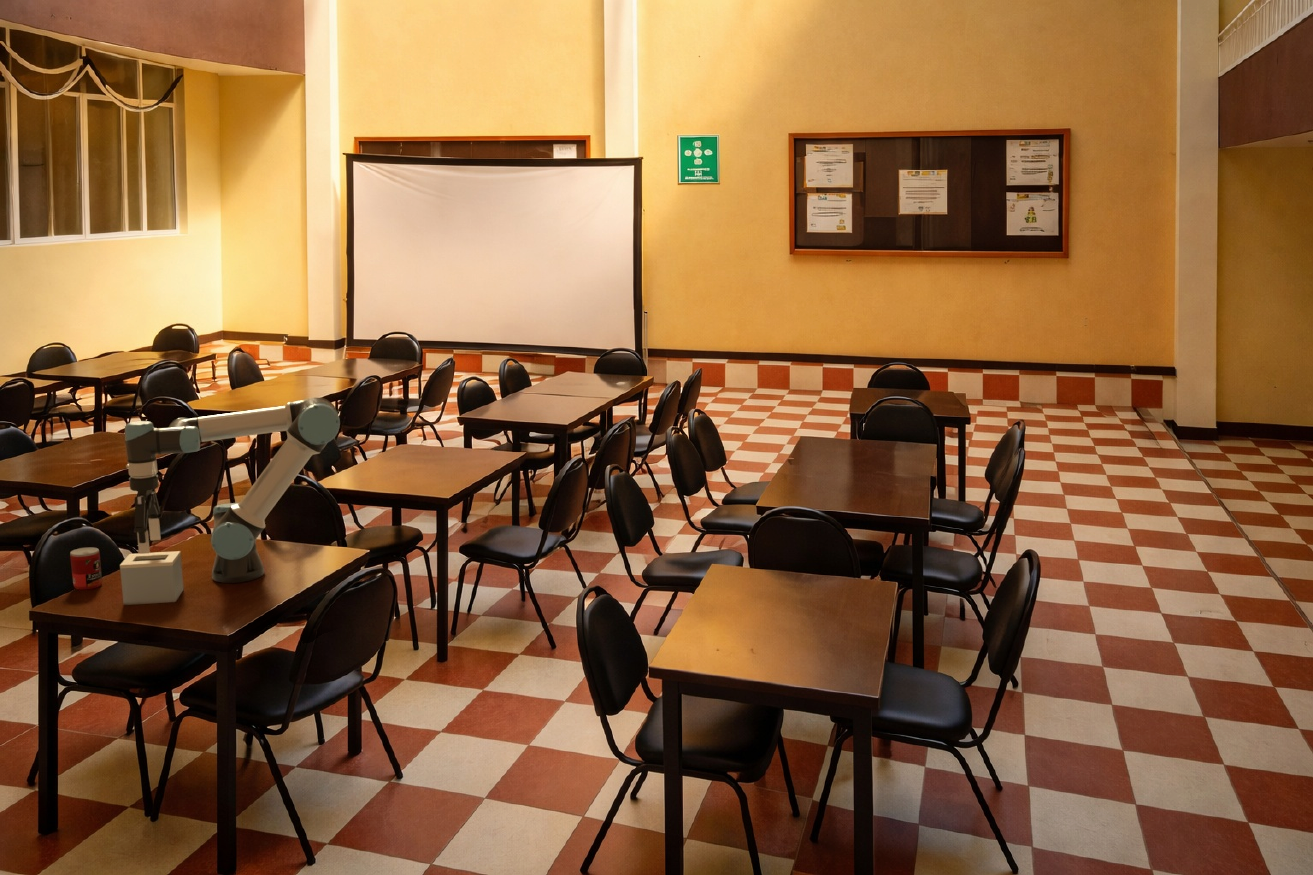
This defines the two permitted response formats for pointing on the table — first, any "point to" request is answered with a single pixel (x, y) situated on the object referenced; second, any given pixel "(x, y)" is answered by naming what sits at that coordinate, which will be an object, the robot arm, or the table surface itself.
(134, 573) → the box
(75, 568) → the canned food
